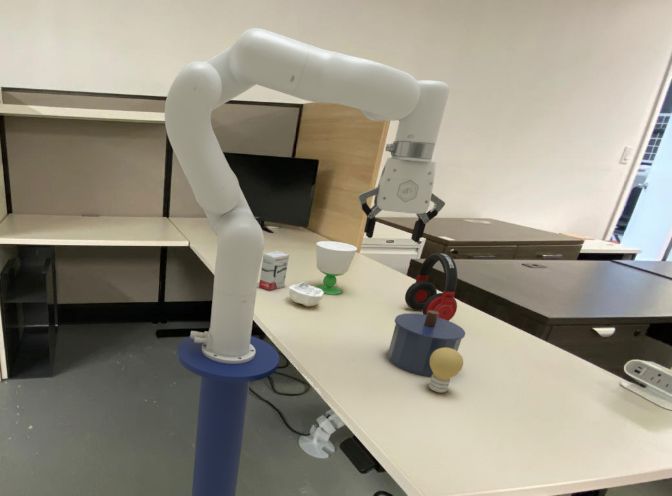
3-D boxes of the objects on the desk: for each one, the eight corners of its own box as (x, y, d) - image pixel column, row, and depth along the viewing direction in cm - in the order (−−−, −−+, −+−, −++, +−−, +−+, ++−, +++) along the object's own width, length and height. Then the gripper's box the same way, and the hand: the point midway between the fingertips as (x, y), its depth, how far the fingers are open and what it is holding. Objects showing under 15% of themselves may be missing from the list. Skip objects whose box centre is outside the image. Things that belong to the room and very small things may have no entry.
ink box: (269, 291, 158) (274, 256, 153) (258, 287, 161) (262, 253, 157) (284, 286, 164) (289, 253, 159) (273, 283, 167) (278, 250, 162)
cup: (356, 293, 163) (366, 249, 156) (329, 298, 156) (338, 252, 149) (326, 282, 173) (334, 239, 166) (300, 286, 166) (307, 242, 159)
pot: (396, 372, 109) (406, 336, 105) (381, 346, 122) (390, 313, 118) (460, 380, 108) (472, 343, 104) (438, 352, 122) (448, 319, 118)
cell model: (300, 312, 142) (304, 291, 139) (281, 298, 152) (284, 278, 149) (328, 310, 145) (332, 289, 142) (307, 297, 155) (311, 277, 152)
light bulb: (440, 382, 107) (453, 342, 102) (459, 396, 101) (473, 355, 97) (415, 383, 105) (427, 343, 101) (433, 398, 100) (447, 356, 95)
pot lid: (404, 339, 105) (409, 320, 103) (387, 314, 119) (391, 297, 117) (475, 346, 104) (481, 328, 102) (449, 321, 118) (454, 304, 116)
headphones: (398, 306, 154) (414, 246, 146) (427, 307, 155) (444, 248, 146) (423, 327, 138) (442, 261, 130) (455, 328, 139) (476, 263, 130)
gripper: (372, 149, 89) (353, 238, 96) (465, 157, 88) (439, 246, 95) (364, 148, 96) (347, 231, 103) (450, 155, 95) (427, 239, 102)
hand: (391, 238), depth 99 cm, fingers open, 9 cm apart
